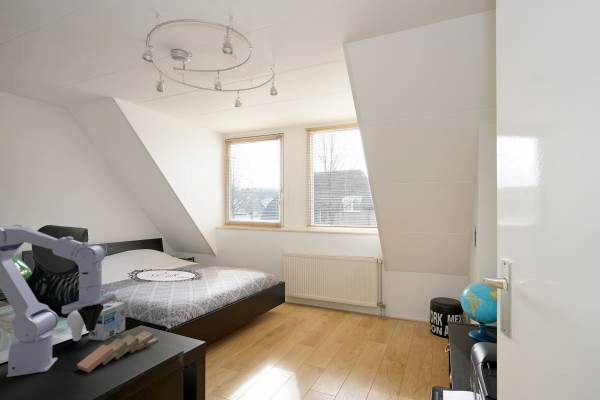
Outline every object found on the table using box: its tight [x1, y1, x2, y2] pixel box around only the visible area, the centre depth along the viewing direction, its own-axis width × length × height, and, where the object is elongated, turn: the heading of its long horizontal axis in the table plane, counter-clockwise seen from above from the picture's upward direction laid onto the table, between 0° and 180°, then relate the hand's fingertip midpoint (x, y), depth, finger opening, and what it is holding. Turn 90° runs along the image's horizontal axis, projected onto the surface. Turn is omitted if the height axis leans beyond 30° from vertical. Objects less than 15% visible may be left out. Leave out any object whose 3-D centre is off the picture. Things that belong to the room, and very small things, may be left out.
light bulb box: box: [88, 301, 126, 341], centre depth 117 cm, size 11×7×11 cm, turn 168°
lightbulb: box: [66, 310, 85, 342], centre depth 111 cm, size 6×6×11 cm
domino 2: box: [99, 338, 128, 366], centre depth 98 cm, size 2×5×8 cm
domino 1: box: [76, 344, 114, 374], centre depth 94 cm, size 2×5×8 cm
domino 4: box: [127, 330, 155, 354], centre depth 106 cm, size 2×5×8 cm
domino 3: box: [112, 334, 139, 361], centre depth 101 cm, size 2×5×8 cm
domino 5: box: [136, 337, 159, 351], centre depth 108 cm, size 2×5×8 cm
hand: (90, 330), depth 94 cm, fingers closed
